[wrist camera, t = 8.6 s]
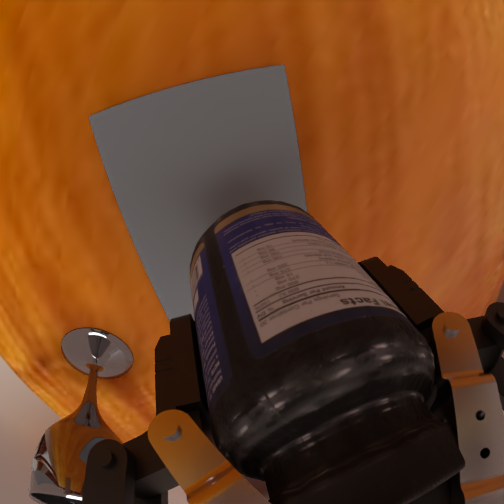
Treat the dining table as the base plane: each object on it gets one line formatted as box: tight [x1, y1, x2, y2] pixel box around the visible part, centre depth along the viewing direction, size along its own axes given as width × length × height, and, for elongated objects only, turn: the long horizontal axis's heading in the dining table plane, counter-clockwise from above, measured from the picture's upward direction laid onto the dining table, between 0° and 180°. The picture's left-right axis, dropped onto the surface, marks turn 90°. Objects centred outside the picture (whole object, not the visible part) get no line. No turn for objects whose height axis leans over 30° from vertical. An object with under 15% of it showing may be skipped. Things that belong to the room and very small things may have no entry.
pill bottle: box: [190, 200, 465, 504], centre depth 9 cm, size 6×6×11 cm
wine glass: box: [29, 328, 133, 504], centre depth 18 cm, size 8×8×15 cm
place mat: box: [89, 65, 307, 321], centre depth 20 cm, size 18×12×1 cm, turn 11°
